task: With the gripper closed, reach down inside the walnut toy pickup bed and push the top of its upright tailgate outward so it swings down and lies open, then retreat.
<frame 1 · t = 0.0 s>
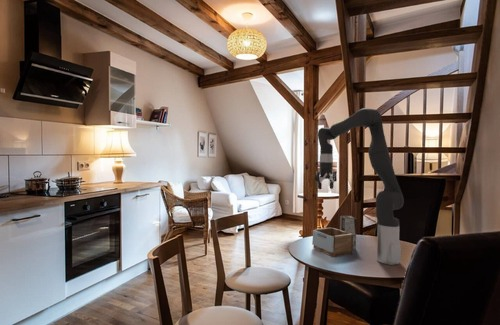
hand: (325, 188, 187), 29 cm above the table, fingers open, 8 cm apart
coffee box: (347, 247, 171), on the table
pickup bed: (332, 250, 162), on the table
tailgate: (322, 240, 159), point 6 cm above the table, hinge at -4.0°
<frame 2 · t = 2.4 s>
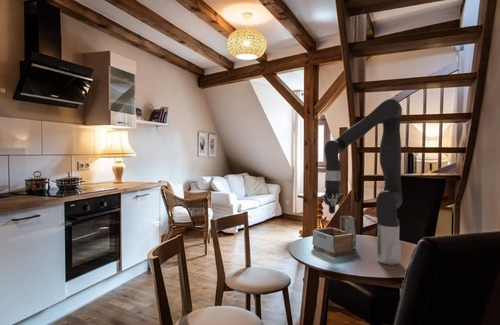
hand: (331, 213, 161), 20 cm above the table, fingers closed
nothing on the table moved.
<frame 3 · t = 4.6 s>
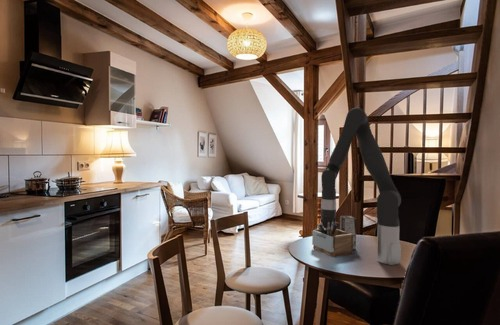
hand: (327, 241, 161), 5 cm above the table, fingers closed
tailgate: (321, 240, 159), point 6 cm above the table, hinge at -0.8°, touching gripper
everything else where it was.
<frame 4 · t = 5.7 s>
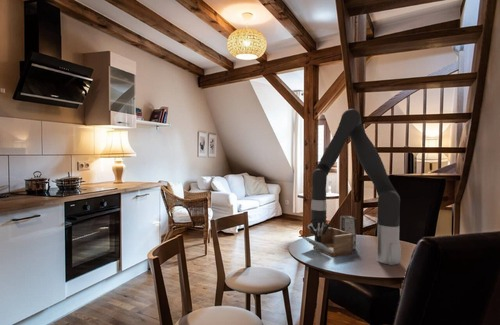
hand: (318, 243, 158), 5 cm above the table, fingers closed
tailgate: (316, 245, 158), point 4 cm above the table, hinge at 54.2°
everything else where it was.
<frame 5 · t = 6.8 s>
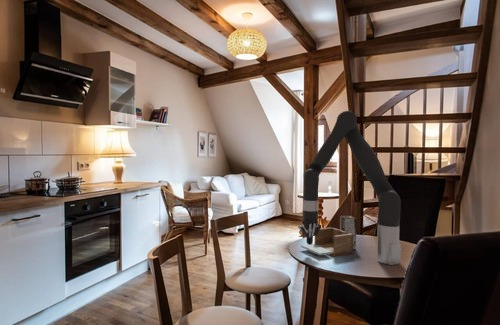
hand: (309, 244, 156), 5 cm above the table, fingers closed
tailgate: (316, 249, 158), point 2 cm above the table, hinge at 90.4°
everything else where it was.
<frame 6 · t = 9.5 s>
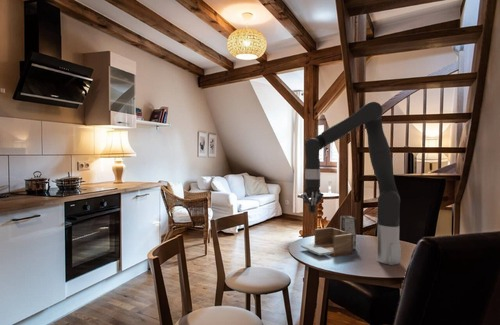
hand: (312, 212, 159), 20 cm above the table, fingers closed
nothing on the table moved.
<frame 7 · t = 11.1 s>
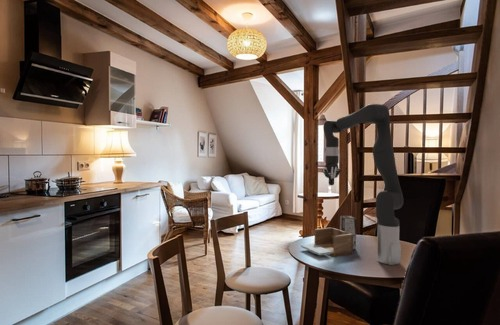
hand: (331, 185, 183), 32 cm above the table, fingers closed
nothing on the table moved.
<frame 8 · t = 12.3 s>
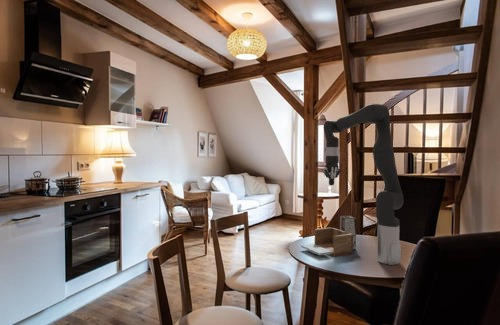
hand: (331, 185, 183), 32 cm above the table, fingers closed
nothing on the table moved.
at the end: tailgate at +90° (first picture: -4°) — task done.
